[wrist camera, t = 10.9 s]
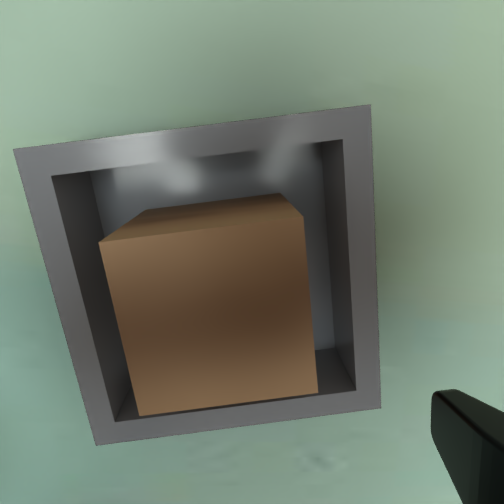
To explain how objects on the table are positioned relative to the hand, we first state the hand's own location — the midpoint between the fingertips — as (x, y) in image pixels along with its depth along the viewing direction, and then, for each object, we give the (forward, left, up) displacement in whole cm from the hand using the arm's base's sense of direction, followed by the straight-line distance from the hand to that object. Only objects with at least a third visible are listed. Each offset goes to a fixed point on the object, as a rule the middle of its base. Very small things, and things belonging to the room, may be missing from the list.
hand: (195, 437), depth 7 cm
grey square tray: (0, 0, -12) cm, 12 cm away
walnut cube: (0, 0, -11) cm, 11 cm away
